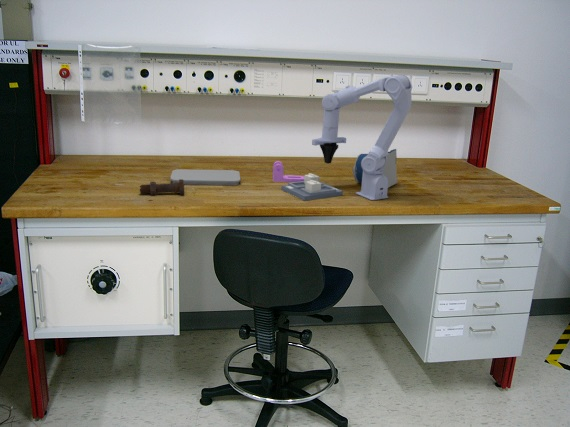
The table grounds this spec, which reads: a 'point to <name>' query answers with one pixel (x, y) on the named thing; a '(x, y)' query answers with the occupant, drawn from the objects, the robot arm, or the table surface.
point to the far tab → (311, 178)
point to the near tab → (312, 186)
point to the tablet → (206, 177)
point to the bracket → (280, 177)
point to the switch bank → (300, 192)
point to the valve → (388, 169)
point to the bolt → (163, 188)
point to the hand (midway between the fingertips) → (327, 162)
